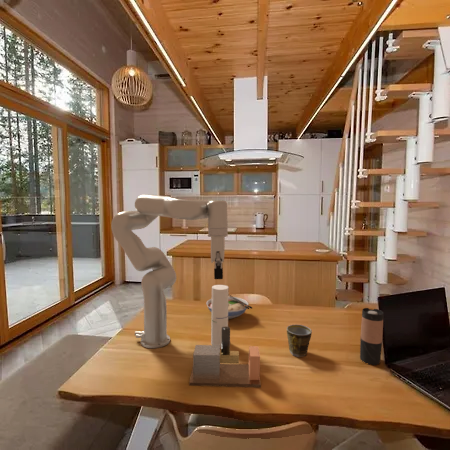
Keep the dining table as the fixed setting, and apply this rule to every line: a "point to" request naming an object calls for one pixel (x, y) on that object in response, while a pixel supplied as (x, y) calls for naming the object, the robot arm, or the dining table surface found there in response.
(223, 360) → the sliding bolt with handle
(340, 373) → the dining table surface
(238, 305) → the ramen bowl
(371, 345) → the travel mug
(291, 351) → the ceramic cup
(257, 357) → the socket
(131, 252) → the robot arm
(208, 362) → the brown wooden base board
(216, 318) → the cylindrical container
